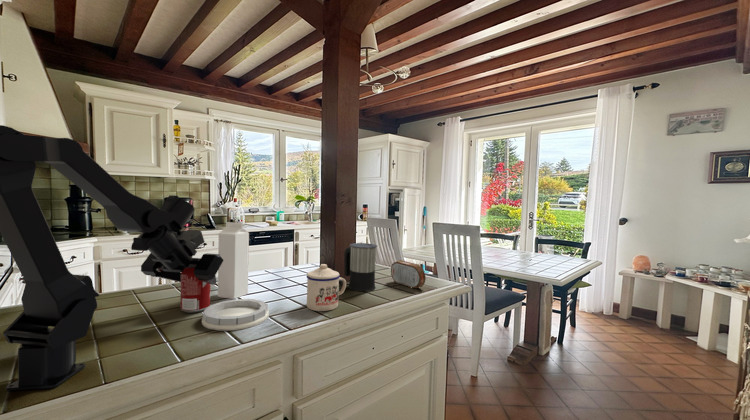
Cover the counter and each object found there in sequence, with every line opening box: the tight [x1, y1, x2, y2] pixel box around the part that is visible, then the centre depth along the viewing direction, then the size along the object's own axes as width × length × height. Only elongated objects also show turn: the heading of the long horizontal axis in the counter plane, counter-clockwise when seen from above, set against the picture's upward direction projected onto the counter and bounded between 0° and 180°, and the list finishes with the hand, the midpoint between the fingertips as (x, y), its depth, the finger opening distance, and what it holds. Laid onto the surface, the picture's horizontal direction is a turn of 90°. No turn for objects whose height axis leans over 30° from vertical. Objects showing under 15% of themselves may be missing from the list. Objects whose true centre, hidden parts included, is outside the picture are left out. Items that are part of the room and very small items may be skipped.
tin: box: [390, 259, 426, 289], centre depth 112 cm, size 15×3×8 cm, turn 40°
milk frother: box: [338, 242, 378, 292], centre depth 105 cm, size 14×16×15 cm
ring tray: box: [201, 298, 270, 332], centre depth 77 cm, size 15×15×2 cm
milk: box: [217, 221, 250, 300], centre depth 95 cm, size 6×6×22 cm
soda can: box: [179, 268, 211, 314], centre depth 82 cm, size 7×7×12 cm
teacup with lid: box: [306, 263, 347, 312], centre depth 88 cm, size 12×9×12 cm
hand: (199, 282), depth 83 cm, fingers open, 9 cm apart
